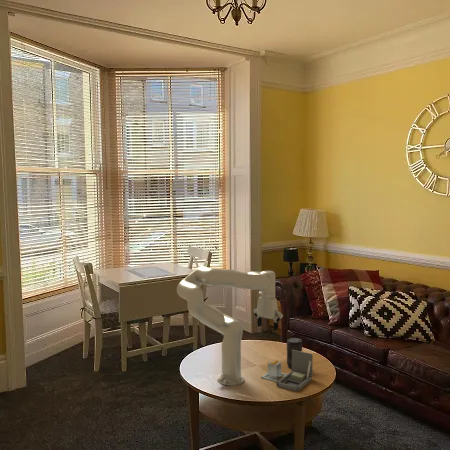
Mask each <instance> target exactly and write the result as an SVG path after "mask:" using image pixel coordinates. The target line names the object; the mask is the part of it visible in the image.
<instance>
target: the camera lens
mask: <svg viewBox="0 0 450 450" xmlns="http://www.w3.org/2000/svg"><path fill="white" fill-rule="evenodd" d="M292 350H296V351H301V352H303V340H302V339H301V338H297V337H289V338H288V339H287V340H286V365H287V368H288V369H291V370H292Z"/></svg>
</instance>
